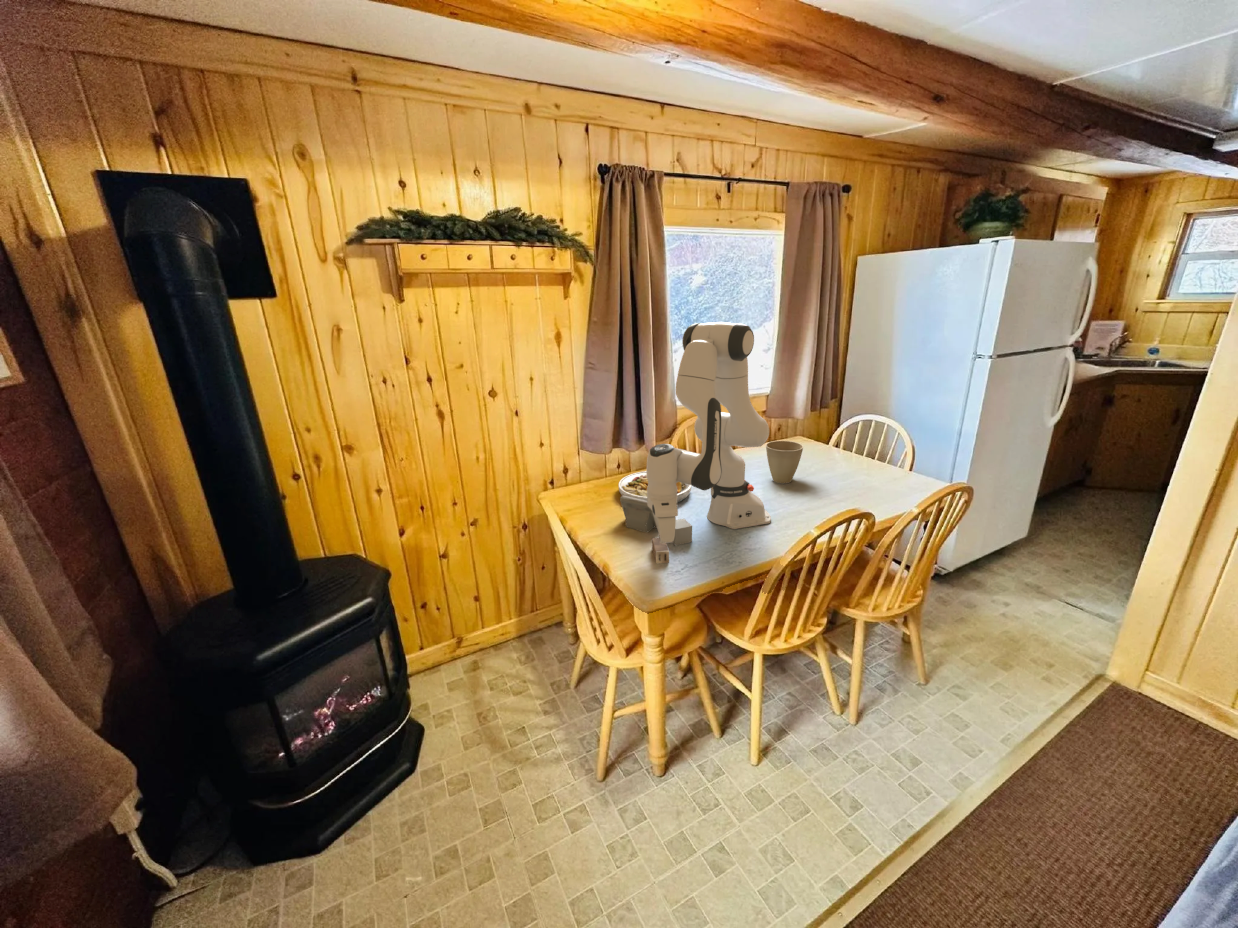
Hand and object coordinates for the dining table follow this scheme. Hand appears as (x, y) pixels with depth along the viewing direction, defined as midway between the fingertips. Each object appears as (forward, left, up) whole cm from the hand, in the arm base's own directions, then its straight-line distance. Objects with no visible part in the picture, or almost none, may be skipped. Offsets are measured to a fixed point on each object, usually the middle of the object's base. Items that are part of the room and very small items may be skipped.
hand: (662, 541), depth 144 cm
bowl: (-5, -54, -8) cm, 55 cm away
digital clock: (+3, -26, -8) cm, 27 cm away
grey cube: (-8, -14, -8) cm, 18 cm away
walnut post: (0, 0, -6) cm, 6 cm away
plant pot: (-61, -60, -8) cm, 86 cm away
